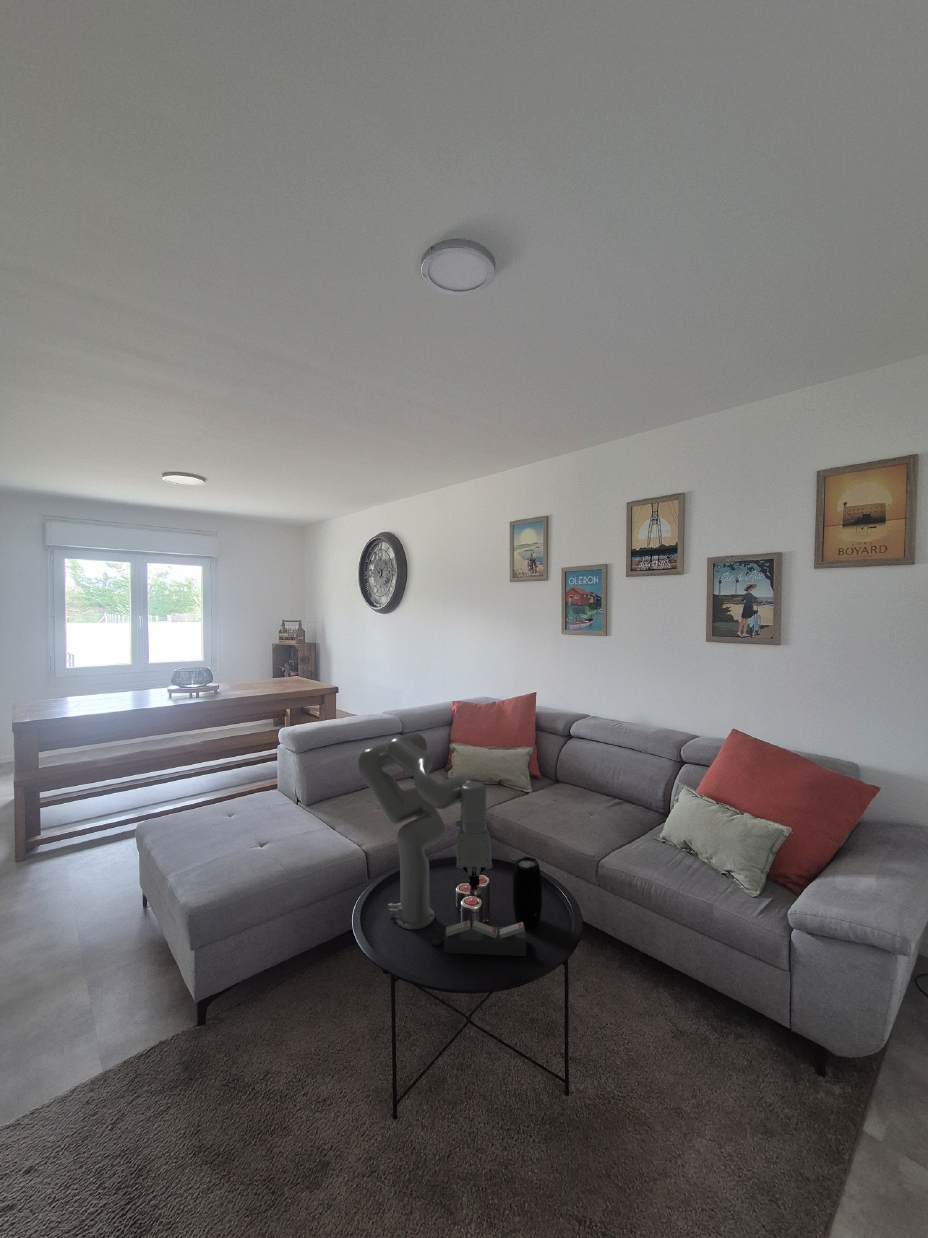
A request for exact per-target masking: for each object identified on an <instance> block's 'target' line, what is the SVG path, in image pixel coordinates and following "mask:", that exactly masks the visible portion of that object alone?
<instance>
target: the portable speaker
mask: <svg viewBox="0 0 928 1238" xmlns="http://www.w3.org/2000/svg"><path fill="white" fill-rule="evenodd" d="M542 881H543V879H542V874H541V867H540V864H539V861H538V860H537V859H536V858H535V857H533V856H524V857H522V858H519V859H516V860H515V861H514V869H513V875H512V906H513V913H514V918H515V919H514V920H515V922H516V924H517V923H520V922H523V924H524V928H525V930H529V928H531V927H534V926H536V927H539V925H540V923H541V922H540V921H541V917H542V916H541V914H542V909H543V908H542V907H543V882H542Z"/></svg>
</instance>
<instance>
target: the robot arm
mask: <svg viewBox="0 0 928 1238" xmlns="http://www.w3.org/2000/svg"><path fill="white" fill-rule="evenodd" d="M427 749H428V744H427V740H426V739H425V737H424V736H422V735H421V734H419V733H416V732H411V733H408V734H404V735H400V736H396V737H394V738H392V739H390V741H388V742H386V743H380V744H377V745H374V746H370V747H368V748H366V749H365V750H363V751H362V752H361V753H360V755H359V758H358V771H359V774H360V776H361V778H362V779H363V782H365V785H367V786H368V788H369V789H370V790H371V791H372V793H373V794H374V796H375V798H376V800H377V801H378V803H379V805H380V806H381V809H382V810H383V811H384V812H383V813H385V815H386V817H387V819H388V820H389V821H390V822H391V823H393V824H397V825H398V824H401V823H404V822H406V821H409V820H411V819H413V820H411V821H409V822H406V823H404V824H403V825H402V826H401V827H400V828H399V829H398V831H397V834H396V842H397V843H396V844H397V849H398V855H399V873H400V875H399V876H400V877H399V878H400V879H399V881H400V882H399V884H400V885H399V887H400V895H399V896H400V897H399V898H400V902H397V903H388V904H387V910H388V911H389V914H395V921H396V924H397V925H398V926H399V927H401V928H403V929H407V930H419V929H420V930H421V929H423V928H426V927H428V926H429V925H431V924H432V923H433V922H434V919H435V912H434V910H433V909H432V908H431V907H430V861H429V859H428V857H427V856H426V854H425V850H426V849H427V848H429V847H430V846H433V845H434V844H436V843H438V842H440V841H442V839H443V838H444V837H445V835H446V826H445V825H446V824H445V823H444V821H443V818H442V817H441V815H440V813H439V811H438V810H437V809H439V810H443V809H447V808H449V807H451V806H454V805H456V804H460V820H459V821H458V820H456V822H455V823H456V825H455V826H456V827H459V830H458V833H457V841H456V865H455V867H456V868H457V869H461V870H464V871H465V873H466V874H467V875H468V876H469V877H468V880H469V881H468V882H469V883H468V885H469V886H470V887H471V890H472V891H474V890H475V891H477V890H478V887H479V886H480V877H481V874H482V873H483V872H484V871H485V870H490V869H493V863H492V846H491V845H492V844H491V843H492V842H491V835H490V832H489V829H488V828H487V789H486V786H485V784H484V783H481V782H479V781H472V780H471V779H468V778H467V777H465V776H462V775H457V776H454V777H451V778H448V779H444V780H442V781H440V782H437V781H436V780H434V779H433V778H432V777H430V776H429V773H430V772H431V770H432V768H433V763H434V761H433V757H432V756H431V755H430V754H429V753H427ZM395 766H400V768H401V769H403V770H404V771H405V772H406V773H408V774H409V775H410V776H411V777H413V781H414V787H412V788H411V787H410V788H409V789H406V790H403V789H402V788H401V786H400V785H399V783H398V781H397V780H396V779H395V778H394V777H393V776H392V775H390V774H389V773H387V772H386V771H384V770H385V769H388V768H391V767H395ZM414 818H415V819H414ZM474 868H476V869H475V871H474V870H473V869H474Z"/></svg>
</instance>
